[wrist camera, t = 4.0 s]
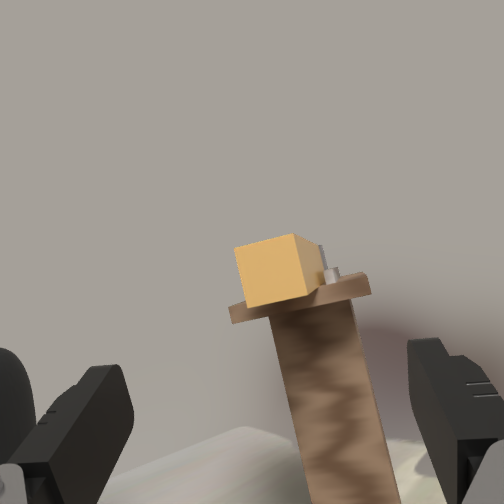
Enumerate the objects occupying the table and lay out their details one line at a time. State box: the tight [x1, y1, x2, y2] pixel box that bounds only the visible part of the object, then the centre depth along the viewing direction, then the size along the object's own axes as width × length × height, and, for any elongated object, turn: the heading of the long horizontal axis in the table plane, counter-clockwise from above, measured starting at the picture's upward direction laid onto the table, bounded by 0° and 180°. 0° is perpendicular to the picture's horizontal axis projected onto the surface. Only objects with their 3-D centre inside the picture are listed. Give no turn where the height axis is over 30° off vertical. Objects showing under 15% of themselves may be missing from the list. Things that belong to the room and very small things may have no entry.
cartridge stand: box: [229, 267, 401, 504], centre depth 43 cm, size 18×16×33 cm
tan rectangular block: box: [234, 233, 328, 308], centre depth 39 cm, size 5×23×4 cm, turn 167°
